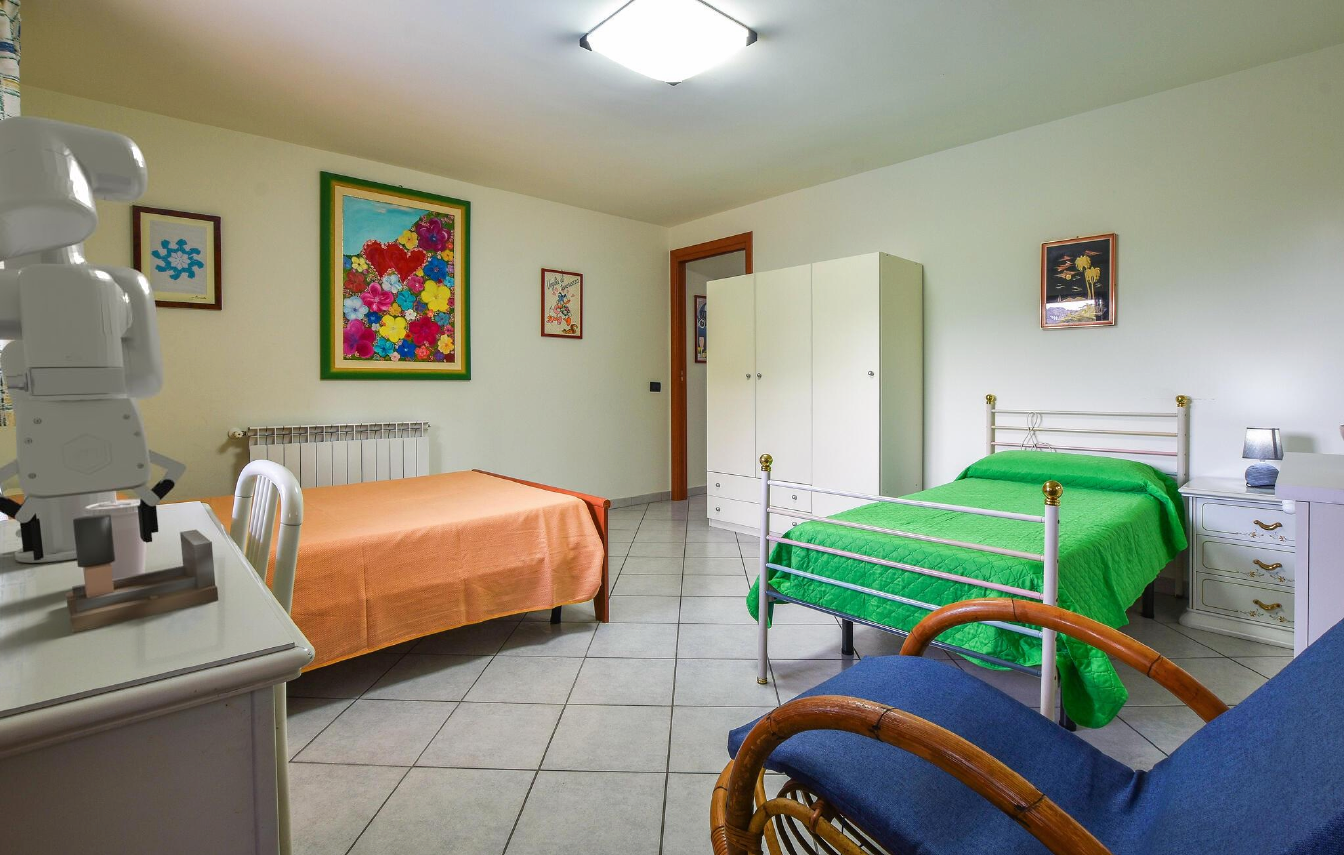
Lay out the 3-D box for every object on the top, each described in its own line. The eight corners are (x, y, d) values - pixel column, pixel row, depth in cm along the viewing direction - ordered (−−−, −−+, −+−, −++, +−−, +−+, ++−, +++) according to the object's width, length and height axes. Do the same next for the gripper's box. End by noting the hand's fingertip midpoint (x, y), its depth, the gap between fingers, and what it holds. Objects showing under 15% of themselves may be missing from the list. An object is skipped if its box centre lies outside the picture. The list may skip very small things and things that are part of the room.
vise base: (73, 632, 63) (66, 568, 62) (67, 605, 71) (61, 548, 70) (218, 599, 72) (213, 543, 71) (199, 579, 79) (194, 528, 79)
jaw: (82, 604, 66) (74, 523, 65) (79, 593, 69) (71, 516, 68) (120, 597, 68) (113, 518, 67) (115, 586, 71) (108, 511, 71)
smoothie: (123, 571, 83) (113, 465, 82) (171, 570, 83) (161, 465, 82) (76, 587, 77) (64, 474, 76) (127, 587, 77) (116, 473, 75)
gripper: (-50, 388, 58) (-27, 575, 59) (187, 383, 70) (201, 538, 72) (-44, 388, 63) (-24, 560, 64) (176, 383, 75) (188, 527, 77)
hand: (94, 547), depth 68 cm, fingers open, 8 cm apart
